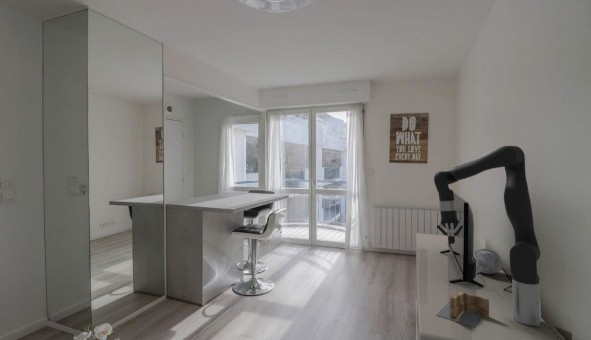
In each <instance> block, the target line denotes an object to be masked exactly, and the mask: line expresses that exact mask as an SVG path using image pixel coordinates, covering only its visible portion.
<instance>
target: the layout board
mask: <svg viewBox="0 0 591 340" xmlns="http://www.w3.org/2000/svg"><path fill="white" fill-rule="evenodd" d="M436 316H437V317H439V318H443V319H446V320H449V321H453V322H456V323H459V324H462V325H465V326H468V327H472V328H475V326H476V325H477V324H478V322H479V321H480V319H481V318H482V317H483V316H482V315H479V314H476V313H472V312H469V311H463V312H461V313H460V314H458V315H457V316H455V317H454V318H451V317H450V304H449V301H448V302H447V303H446V304H445V305H444V306H443V307H442V308H441V309H440V310H439V311H438V312H437V313H436Z"/></svg>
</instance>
